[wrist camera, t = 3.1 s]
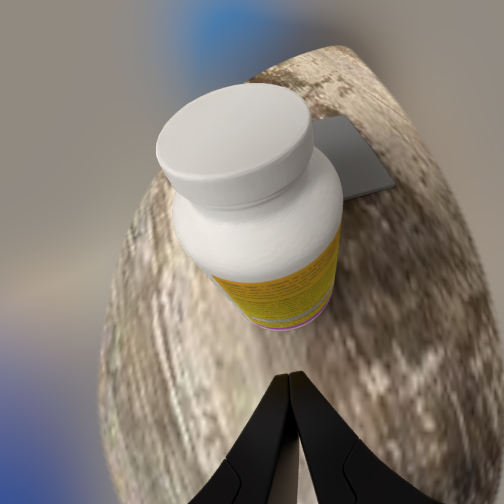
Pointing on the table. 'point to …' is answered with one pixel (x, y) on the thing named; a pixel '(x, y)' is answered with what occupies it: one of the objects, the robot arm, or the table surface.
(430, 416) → the table surface
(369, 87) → the table surface
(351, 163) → the mat
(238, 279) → the supplement bottle
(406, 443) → the table surface
